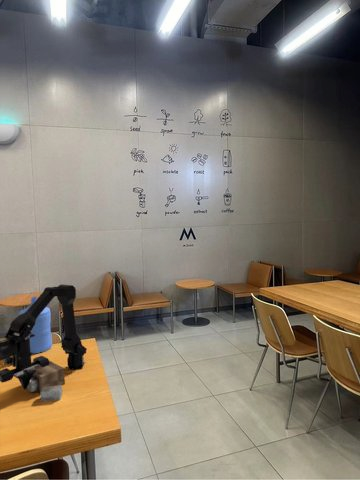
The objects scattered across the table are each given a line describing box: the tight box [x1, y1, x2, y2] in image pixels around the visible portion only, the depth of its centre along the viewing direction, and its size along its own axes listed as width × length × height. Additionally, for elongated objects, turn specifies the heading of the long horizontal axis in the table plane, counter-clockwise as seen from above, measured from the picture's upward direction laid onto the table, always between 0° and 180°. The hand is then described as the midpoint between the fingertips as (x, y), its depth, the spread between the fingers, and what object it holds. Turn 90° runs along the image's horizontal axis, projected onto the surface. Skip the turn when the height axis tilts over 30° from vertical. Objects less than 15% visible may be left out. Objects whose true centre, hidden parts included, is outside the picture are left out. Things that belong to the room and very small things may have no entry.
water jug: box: [18, 296, 53, 355], centre depth 178 cm, size 16×16×28 cm
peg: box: [26, 377, 39, 393], centre depth 135 cm, size 7×4×4 cm, turn 141°
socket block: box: [32, 360, 66, 394], centre depth 140 cm, size 10×14×7 cm
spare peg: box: [40, 385, 63, 403], centre depth 129 cm, size 7×4×4 cm, turn 99°
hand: (24, 389), depth 131 cm, fingers closed
